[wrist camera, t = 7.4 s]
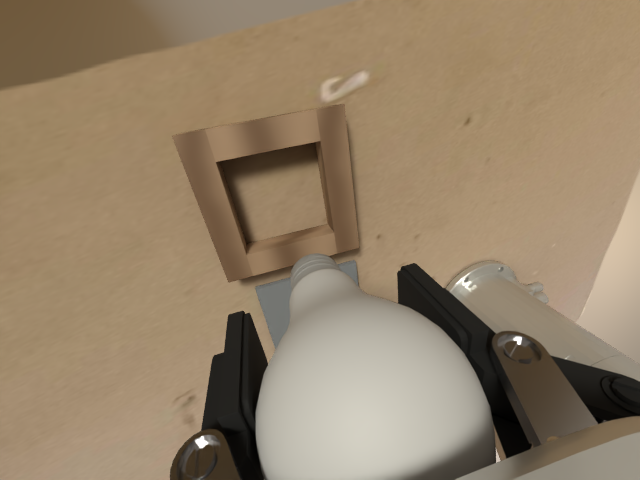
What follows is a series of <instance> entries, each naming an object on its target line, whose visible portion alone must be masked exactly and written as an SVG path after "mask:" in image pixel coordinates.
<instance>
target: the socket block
mask: <svg viewBox="0 0 640 480" xmlns="http://www.w3.org/2000/svg"><path fill="white" fill-rule="evenodd" d="M172 138H173V140H174V143H175V145H176V148H177V151H178V153H179V156H180V158H181V161H182V163H183V166H184V169H185V171H186V174H187V176H188V179H189V182H190V184H191V187H192V189H193V192H194V195H195V197H196V200H197V202H198V205H199V207H200V210H201V213H202V215H203V218H204V220H205V223H206V226H207V228H208V231H209V233H210V236H211V238H212V241H213V244H214V246H215V249H216V251H217V254H218V257H219V259H220V262H221V264H222V267H223V270H224V272H225V275H226V277H227V280H228V282H232V281H236V280H240V279H244V278H247V277H251V276H255V275H259V274H262V273H266V272H270V271H274V270H278V269H281V268H285V267H289V266H293V265H295V263H296V262H297V261H298V260H299V259H301V258H302V257H304V256H306V255H309V254H314V253H320V254H325V255H327V256H330V255H334V254H338V253H341V252H345V251H349V250H353V249H356V248H359V240H358V230H357V220H356V211H355V201H354V191H353V182H352V172H351V162H350V153H349V143H348V133H347V124H346V114H345V104H340V105H333V106H327V107H322V108H316V109H311V110H305V111H300V112H294V113H289V114H283V115H278V116H272V117H267V118H261V119H256V120H250V121H245V122H239V123H234V124H228V125H223V126H217V127H212V128H206V129H201V130H195V131H190V132H185V133H179V134H176V135H173V136H172ZM313 142H315V146H316V152H317V159H318V165H319V171H320V178H321V184H322V190H323V197H324V203H325V209H326V216H327V222H328V224H325V225H321V226H317V227H313V228H309V229H305V230H301V231H297V232H293V233H289V234H285V235H281V236H277V237H273V238H269V239H265V240H261V241H257V242H253V243H249V244H246V241H245V238H244V235H243V232H242V229H241V226H240V223H239V219H238V216H237V213H236V210H235V207H234V204H233V201H232V198H231V195H230V192H229V188H228V185H227V182H226V179H225V176H224V173H223V170H222V167H221V164H220V161H223V160H228V159H233V158H238V157H243V156H248V155H253V154H258V153H263V152H268V151H273V150H278V149H283V148H288V147H293V146H298V145H303V144H308V143H313Z"/></svg>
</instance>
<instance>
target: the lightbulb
mask: <svg viewBox="0 0 640 480" xmlns="http://www.w3.org/2000/svg"><path fill="white" fill-rule="evenodd" d="M290 279H291V288H292V289H291V291H292V293H291V296H290V301H289V307H290V323H289V326H288V329H287V331H286V332H285V334H284V335H283V337H282V338H281V340H280V342H279V344H278V346H277V348H276V350H275V352H274V354H273V356H272V358H271V360H270V362H269V364H268V366H267V368H266V370H265V372H264V375H263V380H262V384H261V388H260V393H259V398H258V403H257V407H256V443H257V451H258V456H259V461H260V466H261V471H262V474H263V477H264V479H265V480H455V479H457V478H460V477H462V476H465V475H467V474H470V473H472V472H475V471H477V470H480V469H482V468H485V467H487V466H490V465H492V464H495V463H496V444H495V431H494V426H493V420H492V415H491V409H490V405H489V403H488V401H487V398H486V396H485V393H484V391H483V388H482V386H481V384H480V381H479V379H478V377H477V375H476V373H475V371H474V369H473V368H472V366H471V364H470V362H469V361H468V359H467V357H466V356H465V354H464V352H463V351H462V350H461V349H460V348H459V347H458V346H457V345H456V344H455V342H454V341H453V340H452V339H451V338H450V337H449V336H448V335H447V334H446V333H445V332H444V331H443V330H442V329H441V328H440V327H439V326H437V325H436V324H435V323H433V322H432V321H430V320H429V319H428V318H426V317H425V316H423V315H422V314H420V313H418V312H416V311H415V310H413V309H411V308H409V307H406V306H403V305H401V304H398V303H395V302H392V301H390V300H387V299H383V298H379V297H376V296H372V295H368V294H367V293H365V292H363V291H362V290H361V289H360V288H359V287H358V286H357V284H356V283H355V282H354V280H353V279H352V278H351V277H350V276H349V275H347V274H346V273H344V272H342V271H341V269H340V268H339V266H338V265H337V264H336V262H335V261H334V260H333V259H332V258H331V257H329V256H327V255H325V254H320V253H314V254H309V255H306V256H304V257H302V258H301V259H299V260H298V261H297V262H296V263H295V265H294V266H293V268H292V270H291V277H290Z"/></svg>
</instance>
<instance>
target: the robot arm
mask: <svg viewBox="0 0 640 480" xmlns="http://www.w3.org/2000/svg"><path fill="white" fill-rule="evenodd" d="M397 276H398V304H401V305H403V306H406V307H409V308H411V309H413V310H415V311H416V312H418V313H420V314H422V315H423V316H425V317H426V318H428V319H429V320H430V321H432V322H433V323H435V324H436V325H437V326H439V327H440V328H441V329H442V330H443V331H444V332H445V333H446V334H447V335H448V336H449V337H450V338H451V339H452V340H453V341H454V342H455V344H456V345H457V346H458V347H459V348H460V349H461V350H462V351H463V352H464V354H465V356H466V357H467V359H468V361H469V362H470V364H471V366H472V368H473V369H474V371H475V373H476V375H477V377H478V379H479V381H480V384H481V386H482V388H483V391H484V393H485V396H486V398H487V401H488V403H489V405H490V409H491V415H492V420H493V426H494V431H495V444H496V449H497V452H498V454H499V457H500V460H501V461H500V462H497V463H495V464H492V465H490V466H487V467H485V468H482V469H480V470H477V471H475V472H472V473H470V474H467V475H465V476H462V477H460V478H457V479H455V480H640V364H639V363H637V362H635V361H634V360H632V359H631V358H629V357H627V356H626V355H624V354H623V353H621V352H620V351H618V350H617V349H615V348H614V347H612V346H610V345H609V344H607V343H606V342H604V341H603V340H601V339H600V338H598V337H596V336H595V335H593V334H592V333H590V332H588V331H587V330H585V329H584V328H582V327H581V326H579V325H578V324H576V323H575V322H573V321H571V320H570V319H568V318H567V317H565V316H564V315H562V314H561V313H559V312H557V311H556V310H554V309H553V308H551V307H550V306H548V305H546V303H548V297H547V295H546V294H545V293H543V292H541V291H542V290H543V285H542V284H541V283H540V282H534V283H531V284H528V285H524V284H522V283H520V282H519V281H517V280H516V276H515V273H514V271H513V270H512V269H511V268H510V267H508V266H506V265H505V264H503V263H501V262H498V261H484V262H481V263H477V264H475V265H473V266H470V267H468V268H467V269H465V270H464V271H462V272H461V273H460V274H458V275H457V276H456V277H455V278H454V279H453V280H452V281H451V282H450V283H449V284H448V286H447V287H446V289H445V288H442V287H441V286H440V285H439V284H438V283H437V282H436V281H435V280H434V279H432V278H431V277H430V276H429V275H428V274H427V273H426V272H425V271H424V270H422V269H421V268H420V267H419V266H418V265H417V264H415V263H413V264H410V265H406V266H402V267H401V271H398V273H397ZM267 366H268V362H267V359H266V356H265V353H264V350H263V348H262V345H261V342H260V339H259V337H258V334H257V331H256V328H255V326H254V323H253V320H252V317H251V315H250V313H247V314H245V312H244V311H240V312H236V313H233V314H229V315H228V321H227V330H226V340H225V349H224V353H221V354H217V355H214V357H213V359H212V364H211V371H210V377H209V384H208V390H207V397H206V403H205V410H204V416H203V422H202V429H201V431H200V432H198V433H196V434H195V435H193V436H192V437H191V438H189V439H188V440H187V441H186V442H185V443H184V444H183V446H182V447H181V448H180V449H179V450H178V452H177V454H176V456H175V458H174V460H173V463H172V466H171V469H170V480H264V477H263V474H262V471H261V466H260V461H259V456H258V451H257V443H256V407H257V403H258V398H259V393H260V388H261V384H262V380H263V375H264V372H265V370H266V368H267Z"/></svg>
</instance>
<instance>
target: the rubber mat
mask: <svg viewBox="0 0 640 480" xmlns="http://www.w3.org/2000/svg"><path fill="white" fill-rule="evenodd" d="M338 266H339V268H340V269H341V271H342V272H344V273H346V274H347V275H349V276H350V277H351V278H352V279H353V280H354V282H355V283H356V284H357V286H358V278H357V269H356V262H355V261H354V260H352V261H349V262H345V263H341V264H338ZM291 289H292V288H291V279H290V278H286V279H282V280H279V281H275V282H271V283H268V284H264V285H260V286H257V287H256V292H257V295H258V298H259V301H260V304H261V307H262V310H263V313H264V316H265V319H266V322H267V325H268V328H269V331H270V334H271V337H272V340H273V343H274V346H275V349H276V348H277V346H278V344H279V342H280V340H281V338H282V337H283V335H284V334H285V332H286V331H287V329H288V326H289V323H290V307H289V301H290V296H291V293H292V291H291Z"/></svg>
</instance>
